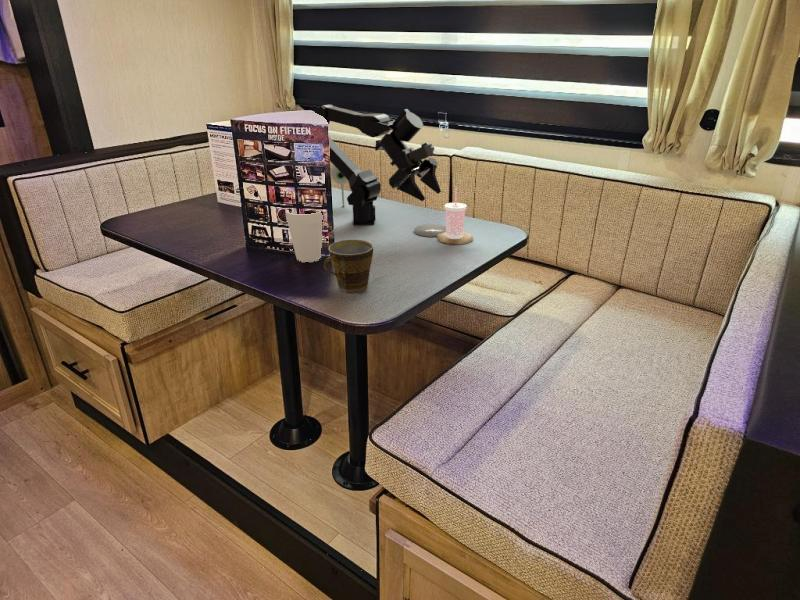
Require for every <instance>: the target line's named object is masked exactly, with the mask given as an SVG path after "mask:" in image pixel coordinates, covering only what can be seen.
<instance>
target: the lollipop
mask: <svg viewBox="0 0 800 600" xmlns="http://www.w3.org/2000/svg"><path fill="white" fill-rule="evenodd" d="M330 176H331V179H332V180H333V181H334V182H335V183H336V184H338V185H341V188H340V189H341V201H342V207H343V206H345V194H344V193H345V192H344V191H345V190H344V185H345V184H347V183H349V182H348V180H347V179H346V178H345V176H344V175H343V174H342V173H341V172H340V171H339V170H338V169H337V168H336V167H335V166H334V165H333V166H332V168H331V169H330Z"/></svg>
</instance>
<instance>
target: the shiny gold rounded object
mask: <svg viewBox="0 0 800 600" xmlns="http://www.w3.org/2000/svg"><path fill="white" fill-rule="evenodd" d="M436 239H437V241H438V240H439V242H440V243H442V242H443V244H446V243H447V244H448V245H464V244H468V242H469V243H471V242H472V241H473V235H472V234H471V233H469V232H466V231H463V237H462V238H460V239H450V238H447V237H446V232H443V233H442V234H441V233H440V234H438V235H437V237H436ZM470 241H471V242H470ZM447 244H446V245H447Z"/></svg>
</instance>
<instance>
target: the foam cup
mask: <svg viewBox="0 0 800 600" xmlns="http://www.w3.org/2000/svg"><path fill="white" fill-rule="evenodd" d="M284 212H285V218H286V219H285V220H286V222H287V224H288V225H287V226H288V228H289V233H290V238H291V240H292V241H291V242H292V246H293V250H294V254H295V257H296V260H297V261H298V260H299V261H298V262H300V261H301V262H300V263H305V262H309V263H314V261H315V262H318V261H320V260H321V259H320V258H322V254H321V248H322V249H323V236H322V220H323V221H324V219H323V215H322V213H321V211H319V212H316V213H311V214H293V213H289V210H286V209H285V211H284ZM319 259H320V260H319Z"/></svg>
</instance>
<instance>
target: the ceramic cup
mask: <svg viewBox="0 0 800 600" xmlns="http://www.w3.org/2000/svg"><path fill="white" fill-rule="evenodd" d="M327 248H328V255H329V256H328V257H326V259H324V263H323V267H324V269H325V270H326V272H329V273H331V274H332V275H333V276H334V277H335V278H336V284H337V286H338V291H339V292H341V293H344V294H346V295H353V294H360V293H362V292H363V293H364V291H366V290H368V287H369V279H370V271H371V270H370V269H371V266H372V261H373V256H374V248H375V247H374V244H373V243H371V241H367V240H363V239H344V240H339V241H336V242H333V243H331V244H330V245H329V246H328V247H327ZM330 261H331V265H332V267H333V271H332V270H330V269H328V268H327V266H328V265H327V264H328V263H329V262H330Z"/></svg>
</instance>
